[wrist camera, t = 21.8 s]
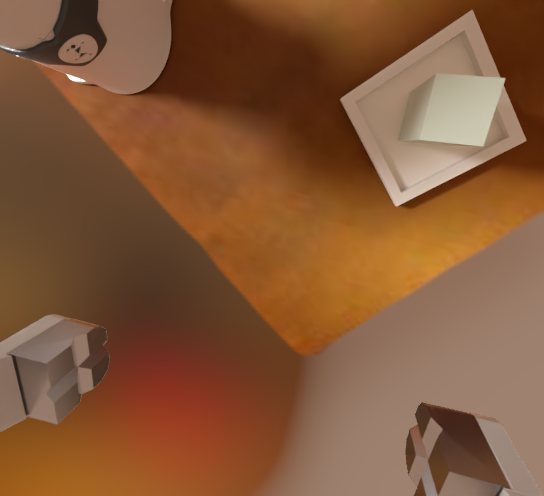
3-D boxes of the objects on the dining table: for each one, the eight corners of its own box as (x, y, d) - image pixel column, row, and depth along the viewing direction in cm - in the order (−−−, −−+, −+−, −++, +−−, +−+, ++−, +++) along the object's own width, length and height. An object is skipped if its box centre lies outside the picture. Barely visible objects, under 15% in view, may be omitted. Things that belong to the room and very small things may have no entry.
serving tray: (340, 100, 36) (340, 98, 34) (464, 17, 31) (472, 9, 29) (393, 203, 38) (396, 206, 36) (516, 140, 33) (526, 140, 31)
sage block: (398, 141, 35) (419, 139, 26) (409, 93, 33) (436, 73, 24) (443, 145, 34) (483, 146, 25) (458, 96, 32) (505, 78, 23)
